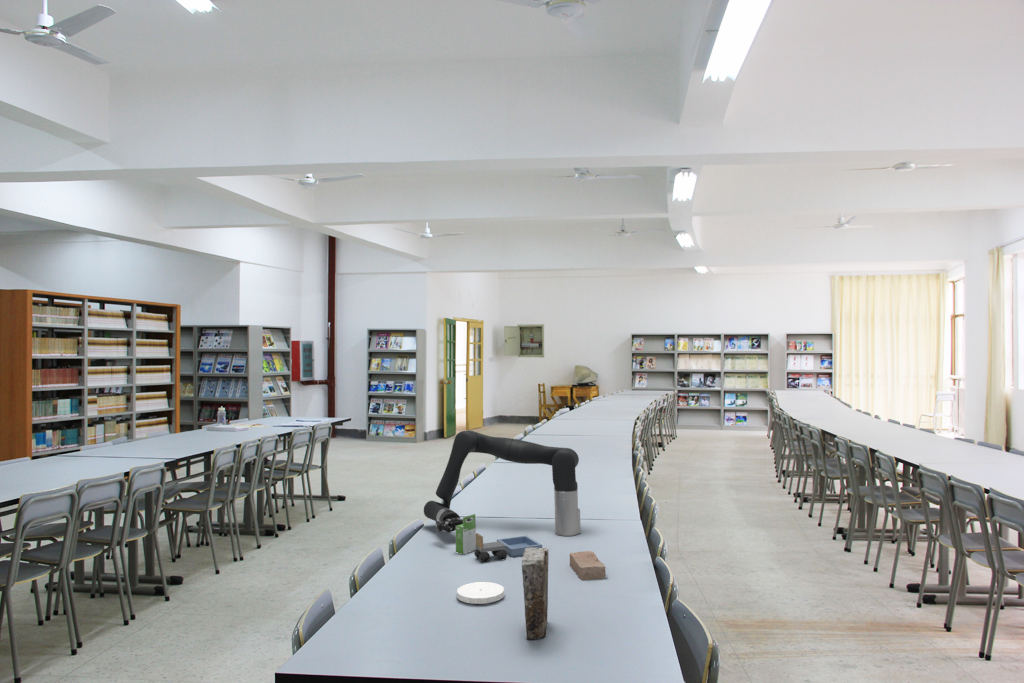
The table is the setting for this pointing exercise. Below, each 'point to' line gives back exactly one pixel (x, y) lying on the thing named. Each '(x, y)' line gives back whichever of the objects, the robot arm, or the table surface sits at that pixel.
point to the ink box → (466, 535)
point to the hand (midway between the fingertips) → (460, 528)
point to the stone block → (535, 591)
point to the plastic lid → (480, 592)
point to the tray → (518, 545)
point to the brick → (587, 565)
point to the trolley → (489, 549)
